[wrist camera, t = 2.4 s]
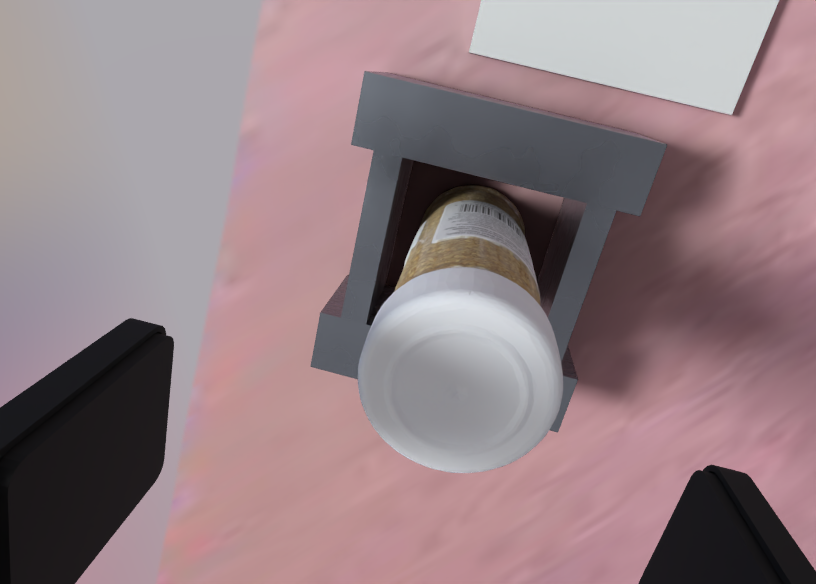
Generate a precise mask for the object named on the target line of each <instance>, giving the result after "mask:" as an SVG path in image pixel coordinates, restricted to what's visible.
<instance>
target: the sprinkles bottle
mask: <svg viewBox="0 0 816 584" xmlns="http://www.w3.org/2000/svg"><path fill="white" fill-rule="evenodd" d="M358 387H359V394H360V399H361V402H362V405H363V408H364V410H365V413H366V415H367V417H368V419H369V421H370V422H371V424H372V426H373V427H374V429H375V430H376V431H377V432H378V434H379V435H380V436H381V437H382V438H383V440H384V441H386V442H387V443H388V444H389V445H390V446H391V447H392V448H393V449H395V450H396V451H397V452H399V453H400V454H402V455H403V456H405V457H406V458H408V459H410V460H412V461H414V462H416V463H419V464H421V465H423V466H426V467H429V468H432V469H436V470H440V471H445V472H451V473H474V472H484V471H488V470H492V469H495V468H499V467H502V466H505V465H507V464H510V463H512V462H514V461H516V460H517V459H519V458H521V457H522V456H524V455H525V454H527V453H528V452H529V451H531V450H532V449H533V448H534V447H535V446H536V445H537V444H538V443H539V442H540V441H541V440H542V439H543V438H544V437H545V435H546V434H547V433H548V431H549V430H550V428H551V426H552V425H553V423H554V421H555V419H556V417H557V414H558V412H559V409H560V405H561V400H562V395H563V373H562V365H561V360H560V355H559V350H558V346H557V343H556V339H555V335H554V332H553V329H552V326H551V324H550V322H549V320H548V318H547V316H546V314H545V312H544V311H543V309H542V308H541V306H540V293H539V289H538V284H537V280H536V276H535V272H534V268H533V263H532V259H531V256H530V252H529V248H528V245H527V241H526V239H525V227H524V223H523V220H522V217H521V215H520V213H519V211H518V210H517V208H516V206H515V205H514V204H513V203H512V202H511V201H509V200H508V198H507V197H506V196H504V195H502V194H500V193H499V192H498V191H496V190H494V189H492V188H489V187H484V186H480V185H467V186H461V187H455V188H453V189H451V190H449V191H446V192H444V193H442V194H441V195H439V196H438V197H437V198H436V199H435V200H434V201H433V202H432V203H431V205H430V206H429V207H428V208H427V210H426V211H425V215H424V216H423V219H422V221H421V223H420V227H419V230H418V232H417V234H416V236H415V238H414V240H413V243H412V245H411V247H410V250H409V252H408V255H407V257H406V260H405V264H404V269H403V271H402V274H401V276H400V279H399V281H398V283H397V286H396V288H395V291H394V293H393V294H392V295H391V296H390V297H389V298H388V299H387V300H386V301H385V302H384V304H383V305H382V306H381V308H380V310H379V311H378V313H377V315H376V317H375V319H374V321H373V323H372V326H371V328H370V330H369V333H368V335H367V338H366V341H365V344H364V346H363V350H362V353H361V356H360V360H359V365H358Z"/></svg>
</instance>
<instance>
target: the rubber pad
mask: <svg viewBox="0 0 816 584" xmlns="http://www.w3.org/2000/svg"><path fill="white" fill-rule="evenodd" d="M778 2H779V0H481V5H480V9H479V13H478V17H477V21H476V25H475V29H474V33H473V38H472V42H471V46H470V50H469V53H472V54H477V55H481V56H485V57H489V58H493V59H497V60H502V61H506V62H510V63H514V64H518V65H523V66H527V67H531V68H535V69H539V70H543V71H548V72H552V73H556V74H560V75H564V76H569V77H573V78H577V79H581V80H585V81H589V82H594V83H598V84H602V85H606V86H610V87H615V88H619V89H623V90H627V91H631V92H636V93H640V94H644V95H648V96H652V97H656V98H661V99H665V100H669V101H673V102H677V103H682V104H686V105H690V106H694V107H698V108H702V109H707V110H711V111H715V112H719V113H723V114H729V115H732V113H733V111H734V108H735V106H736V103H737V101H738V99H739V96H740V94H741V91H742V89H743V87H744V84H745V82H746V79H747V77H748V74H749V72H750V70H751V67H752V65H753V62H754V60H755V57H756V55H757V53H758V50H759V48H760V45H761V43H762V41H763V38H764V36H765V33H766V31H767V28H768V26H769V24H770V21H771V19H772V16H773V14H774V11H775V9H776V7H777V4H778Z"/></svg>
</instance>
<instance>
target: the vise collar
mask: <svg viewBox="0 0 816 584" xmlns="http://www.w3.org/2000/svg"><path fill="white" fill-rule="evenodd" d="M351 145H354V146H358V147H362V148H366V149H371V150H374V152H373V157H372V162H371V167H370V172H369V177H368V182H367V187H366V192H365V198H364V203H363V208H362V213H361V218H360V223H359V228H358V233H357V238H356V243H355V248H354V253H353V258H352V263H351V268H350V273H349V276H348V275H347V276H346V278H345V279H344V280H343V282H342V283H341V285H340V286H339V287H338V289H337V290H336V292H335V293H334V294H333V296H332V297H331V299H330V300H329V301H328V303H327V304H326V305H325V307H324V308H323V310H322V311H321V312H320V318H319V323H318V329H317V334H316V340H315V345H314V351H313V356H312V362H311V367H314V368H318V369H321V370H325V371H329V372H333V373H336V374H340V375H344V376H348V377H351V378H355V379H358V365H359V360H360V356H361V353H362V350H363V346H364V344H365V341H366V338H367V335H368V333H369V330H370V328H371V326H372V323H373V321H374V319H375V317H376V315H377V313H378V311H379V310H380V308H381V306H382V305H383V304H384V302H385V301H386V300H387V299H388V298H389V297H390V296H391V295H392V294H393V293H394V291H395V287H391V286H387V285H386V281H387V277H388V273H389V268H390V264H391V259H392V255H393V250H394V246H395V241H396V237H397V232H398V228H399V223H400V219H401V215H402V210H403V206H404V201H405V197H406V192H407V188H408V183H409V179H410V174H411V170H412V165H413V161H414V160H415V161H419V162H423V163H427V164H431V165H435V166H439V167H443V168H447V169H451V170H455V171H459V172H463V173H467V174H471V175H475V176H479V177H483V178H487V179H491V180H495V181H499V182H503V183H507V184H512V185H516V186H520V187H524V188H528V189H532V190H536V191H540V192H544V193H548V194H552V195H556V196H560V197H564V200H563V203H562V206H561V210H560V213H559V216H558V219H557V222H556V225H555V228H554V231H553V234H552V237H551V240H550V243H549V246H548V249H547V252H546V255H545V258H544V262H543V265H542V268H541V271H540V274H539V277H538V280H537V284H538V289H539V293H540V306H541V308H542V309H543V311H544V312H545V314H546V316H547V318H548V320H549V322H550V324H551V326H552V329H553V332H554V335H555V339H556V343H557V346H558V350H559V355H560V360H561V365H562V373H563V395H562V400H561V405H560V409H559V412H558V414H557V417H556V419H555V421H554V423H553V425H552V426H551V428H550V430H551V431H554V432H558V431H559V428H560V426H561V423H562V420H563V418H564V415H565V412H566V410H567V407H568V405H569V402H570V399H571V397H572V394H573V391H574V389H575V386H576V384H577V381H578V378H577V375H576V372H575V368H574V365H573V361H572V358H571V355H570V351H569V348H568V343H569V340H570V337H571V334H572V332H573V329H574V326H575V323H576V321H577V318H578V315H579V312H580V310H581V307H582V304H583V301H584V299H585V296H586V293H587V290H588V288H589V285H590V282H591V279H592V277H593V274H594V271H595V268H596V266H597V263H598V260H599V257H600V255H601V252H602V249H603V246H604V244H605V241H606V238H607V235H608V233H609V230H610V227H611V224H612V222H613V219H614V216H615V213H616V211H620V212H624V213H628V214H632V215H636V216H640V215H641V213H642V210H643V207H644V205H645V202H646V200H647V197H648V194H649V192H650V189H651V186H652V184H653V181H654V179H655V176H656V173H657V171H658V168H659V165H660V163H661V160H662V158H663V155H664V152H665V150H666V147H667V144H665V143H662V142H659V141H656V140H654V139H651V138H648V137H646V136H643V135H640V134H638V133H635V132H631V131H627V130H623V129H619V128H615V127H611V126H606V125H602V124H598V123H594V122H590V121H586V120H582V119H577V118H573V117H569V116H565V115H561V114H557V113H553V112H549V111H544V110H540V109H536V108H532V107H528V106H524V105H520V104H516V103H511V102H507V101H503V100H499V99H495V98H491V97H487V96H482V95H478V94H474V93H470V92H466V91H462V90H458V89H454V88H449V87H445V86H441V85H437V84H433V83H429V82H425V81H420V80H416V79H412V78H408V77H404V76H400V75H396V74H392V73H387V72H370V71H365V72H364V77H363V83H362V88H361V94H360V99H359V105H358V110H357V116H356V121H355V127H354V132H353V137H352V143H351Z"/></svg>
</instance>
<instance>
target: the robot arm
mask: <svg viewBox="0 0 816 584" xmlns="http://www.w3.org/2000/svg"><path fill="white" fill-rule="evenodd" d="M173 350H174V341H173V338H172V337H170V336H166V331H165V328H164V327H163V326H160V325H156V324H152V323H148V322H144V321H141V320H136V319H131V318H130V319H128V320H125V321H124V322H123V323H121V324H120V325H118V326H117V327H115V328H114V329H113V330H111V331H110V332H108V333H107V334H106V335H104V336H102V337H101V338H100V339H98V340H97V341H95V342H94V343H92V344H91V345H90V346H88V347H87V348H85V349H84V350H82V351H81V352H80V353H78V354H77V355H75V356H74V357H72V358H71V359H70V360H68V361H67V362H65V363H64V364H62V365H61V366H60V367H58V368H57V369H55V370H54V371H52V372H51V373H49V374H48V375H46V376H45V377H44V378H42V379H41V380H39V381H38V382H37V383H35V384H34V385H32V386H31V387H30V388H28V389H26V390H25V391H23V392H22V393H21V394H19V395H18V396H16V397H15V398H14V399H12V400H11V401H9V402H8V403H6V404H5V405H3V406H2V407H1V408H0V584H75V583H76V582H77V580H78V579H79V578H80V576H81V575H82V574H83V573H84V571H85V570H86V569H87V568H88V566H89V565H90V564H91V562H92V561H93V560H94V559H95V557H96V556H97V555H98V554H99V552H100V551H101V550H102V549H103V547H104V546H105V545H106V543H107V542H108V541H109V539H110V538H111V537H112V536H113V535H114V533H115V532H116V531H117V529H118V528H119V527H120V526H121V524H122V523H123V522H124V521H125V519H126V518H127V517H128V516H129V514H130V513H131V512H132V511H133V509H134V508H135V507H136V505H137V504H138V503H139V502H140V500H141V499H142V498H143V496H144V495H145V494H146V493H147V491H148V490H149V489H150V488H151V486H152V485H153V484H154V483H155V481H156V480H157V478H158V476H159V474H160V472H161V470H162V467H163V462H164V455H165V443H166V431H167V420H168V419H167V418H168V408H169V397H170V385H171V373H172V362H173ZM639 584H816V571H815V570H814V568H813V567H812V565H811V564H810V562H809V561H808V560H807V558H806V557H805V555H804V554H803V552H802V551H801V550H800V548H799V547H798V545H797V544H796V542H795V541H794V539H793V538H792V537H791V535H790V534H789V532H788V531H787V529H786V528H785V526H784V525H783V524H782V522H781V521H780V519H779V518H778V516H777V515H776V514H775V512H774V511H773V509H772V508H771V506H770V505H769V503H768V502H767V501H766V499H765V498H764V496H763V495H762V493H761V492H760V490H759V489H758V488H757V486H756V485H755V483H754V482H753V480H752V479H751V478H750V477H749V476H748V475H747V474H745V473H743V472H739V471H735V470H731V469H727V468H723V467H719V466H715V465H709V466H707V467H706V468H705V469H704V470H703V471H701V470H698V471H696V472H694V473H693V475H692V476H691V478H690V480H689V482H688V484H687V486H686V488H685V490H684V492H683V494H682V496H681V498H680V500H679V502H678V504H677V506H676V508H675V510H674V512H673V514H672V516H671V518H670V520H669V522H668V524H667V526H666V528H665V531H664V533H663V535H662V537H661V539H660V541H659V543H658V545H657V547H656V549H655V551H654V553H653V555H652V557H651V559H650V561H649V563H648V565H647V567H646V569H645V571H644V573H643V575H642V577H641V579H640V581H639Z"/></svg>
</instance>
